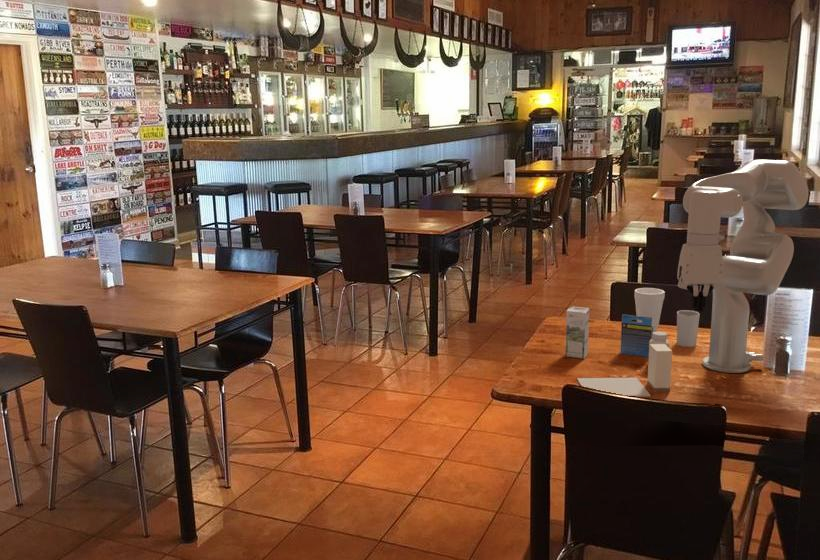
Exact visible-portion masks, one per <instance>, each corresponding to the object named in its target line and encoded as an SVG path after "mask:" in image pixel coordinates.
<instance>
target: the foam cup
mask: <svg viewBox="0 0 820 560" xmlns="http://www.w3.org/2000/svg"><path fill="white" fill-rule="evenodd" d="M665 293H666V291H664V290H663V289H660V288H654V287H639V288H636V289H634V295H633V296H634V301H635V302H634V303H635V312H636V314H635V316H641V317H651V318H652V327H653V332H656V330H657V329H659V324H660V319H661V315H662V309H663V304H664V300H665ZM636 322H642V321H641V320H638V319H636ZM657 331H658V330H657Z"/></svg>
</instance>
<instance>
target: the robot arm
mask: <svg viewBox="0 0 820 560" xmlns="http://www.w3.org/2000/svg"><path fill="white" fill-rule="evenodd" d="M808 199H809V187H808V184H807V182H806V180H805V178H804V176H803V174H802V173H801V171H800V169H799V168H798V167H797V165H795V164H794V163H793V162H791V161H790V160H785V159H784V160H783V159H776V160H775V159H754V160H751V161H750V160H749V161H748V162H746V163H744V164H743V165H741V166H740V167H738V168H737V169H736V170H733V171H732V172H727V173H724V174H719V175H715V176H710V177H705V178H703V179H700V180H697V181H696V182H694V183H693V184H691V185H690V186H689V187H688V188H687V189H686V191H685V192H684V195H683V198H682V206H683V209H684V210H685V212H686V213H688V217H687V231H686V233H687V235H686V243H683V244H682V246H681V250H680V254H679V260H678V267H677V280H678V283H677V287H678V288H679V289H683V290H687V291H688V292H689V294H691V300H690V305H691V308H692V311H695V312H698V313H699V312H700V313H702V312H704V308H705V307H706V299H707V296H708V294H709V293H711V292H712V306H711V307H712V308H711V322H710V334H709V335H710V336H709V348H708V355H707V356H705V357H703V358H702V365H703V366H704V367H705V368H707V369H709V370H712V371H715V372H720V373H727V374H728V373H730V374H740V373H741V374H742V373H745V372H748V371H750V370H751V368H752V363H751V362H753V361H756V362H762V361H764V355H763V353H755V352H754V351H752V352H751V351H750V352H748V351H747V344H748V342H747V341H748V331H749V330H748V329H749V322H750V321H749V320H750V319H749V318H750V304H749V301H748V299H747V298H746V296H745V294H744V293H746V294H747V293H748V294H754V295H759V296H760V295H761V296H771V295H773V294H774V293H775V292H776V291H778V288H779V287H780V284H781V283H782V281H783V279H784V277H785V274H786V273H787V271H788V268H789V266H790V264H791V263H792V259H793V256H794V251H795V247H794V246H795V244H794V241H793V239H792V238H791V237H790V236H789V235H787V234H786V233H785V234H784V233H781V232H780V233H779V232H775V230H776V225H775V222H774V220H773V218H772V217H771V215H770V214H769V213H768V212H767V211H766V210H765V209H769V210H771V209H772V210H773V209H775V210H786V211H797V210H800V209H802V208H804V207H805V206H806V204H807V202H808ZM741 210H742V212H743V222H742V224H741V226H740V227H739V229H738V231H737V233H736V235H735V236H734V239H733V241H732V242H731V245H730V249H729V253H730V254H729V255H723V250H722V245H721V244H720V243H721V241H724V240H725V235H724V234H721V233H720V229H721V228H720V227H721V218H733V217H736V216H737V215H738V214H739V213H740V212H741ZM698 285H700V288H699V286H698Z"/></svg>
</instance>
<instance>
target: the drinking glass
mask: <svg viewBox="0 0 820 560" xmlns="http://www.w3.org/2000/svg"><path fill="white" fill-rule="evenodd" d="M700 313H701V312H700ZM700 313H699V312H696V311H695V310H687V309H686V310H685V309H684V310H683V309H681V310H678V311H676V345H677V346H680V347H684V348H692V347H697V343H698V342H697V341H698V334H699V333H698V332H699V324H700V323H699V322H700V315H701V314H700Z"/></svg>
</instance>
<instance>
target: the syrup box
mask: <svg viewBox="0 0 820 560" xmlns="http://www.w3.org/2000/svg"><path fill="white" fill-rule="evenodd" d="M565 321H566V325H565V357H566V358H573V359H582V360H584V359H585V358H586V357H587V355H588V354H589V330H590V329H589V326H590V324H589V323H590V307H581V306H570V307H568V309H567V310H566V319H565Z"/></svg>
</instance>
